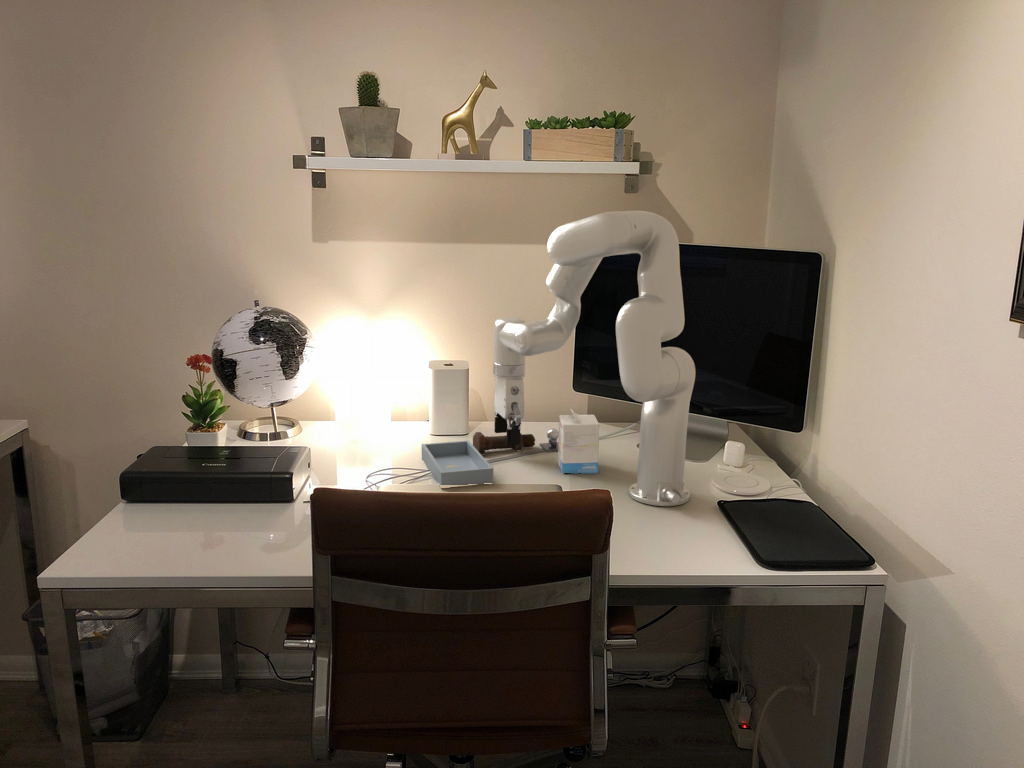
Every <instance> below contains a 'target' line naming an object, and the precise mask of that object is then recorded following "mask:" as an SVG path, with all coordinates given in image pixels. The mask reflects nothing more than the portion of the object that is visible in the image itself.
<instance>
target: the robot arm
mask: <svg viewBox="0 0 1024 768" xmlns="http://www.w3.org/2000/svg"><path fill="white" fill-rule="evenodd" d="M546 252H547V254H548V257H549V259H550V261H552V263H554V264H553V265H552V267H551V269H550V271H549V273H548V275H547V276H546V278H545V285H546V288H547V289H548V291H549V292H550V293H551V294H552V295H553V296H555V297H556V301H555V304H554V306H553V307H552V310H551V311H550V313H549V315H548V316H547V317H546V318H545V319H540V320H534V321H530V322H526V320H525V319H523V318H520V317H515V316H502V317H499V318H497V319H495V322H494V327H493V363H492V365H493V366H492V376H493V377H494V378H495V383H494V397H493V399H494V401H493V405H494V410H495V412H494V433H495V434H505V433H506V435H507V436H506V435H505V436H506V444H507V445H508V446H511V445H519V444H520V433H521V429H522V428H521V427H522V426H521V424H522V420H523V419H524V418H525V388H524V387H525V386H524V384H525V383H524V378H525V376H526V375H525V374H526V373H525V372H526V357H532V356H536V355H541V354H546V353H549V352H554V351H557V350H559V349H560V348H562V347H563V346H564V345H565V344H566V343H567V342H568V340H569V339H570V337H571V335H572V334H573V332H574V331H575V329H576V327H577V324H578V323H579V320H580V316H581V308H582V303H581V297H582V294H583V293H584V291H585V290H586V288H587V286H588V285H589V282H590V280H591V279H592V277H593V275H594V273H595V272H596V270H597V268H598V266H599V265H600V264H601V262H602V260H603V258H605V257H610V256H618V255H619V256H620V255H631V254H638V255H640V261H639V264H638V266H637V267H638V269H637V285H638V297H636V298H635V297H634V298H632V299H629V300H628V301H627V302H625V303H624V305H622V306H621V308H620V309H619V311H618V314H617V316H616V320H615V337H616V338H615V339H616V349H617V350H616V351H617V359H618V369H619V370H618V371H619V376H620V377H619V378H620V382H621V385H622V388H623V390H624V392H625V393H626V395H627V396H628V397H629V398H630V399H632V400H634V401H635V402H639V403H642V406H641V411H640V412H641V413H640V414H641V415H640V423H639V424H640V427H639V428H640V429H639V440H638V441H639V443H638V460H637V461H638V462H637V478H636V480H637V481H636V482H634V483H633V484H631V485H630V486H629V488H628V490H629V491H628V494H629V496H630V497H631V498H632V499H633V500H635V501H637V502H639V503H642V504H646V505H650V506H654V507H655V506H656V507H674V506H680V505H684V504H686V503H687V502H688V501H690V499H691V492H690V490H689V489H688V488H687V487H685V486H684V485H685V482H684V480H685V479H684V478H685V477H684V475H685V461H686V450H687V448H686V447H687V438H688V437H687V436H688V435H687V433H688V423H689V413H690V402H691V398H692V394H693V390H694V385H695V382H696V381H695V380H696V365H695V362H694V360H693V358H692V356H691V355H690V354H689V353H688V352H687V351H686V350H685V349H682V348H680V347H678V346H677V347H676V346H666V347H664V346H663V347H662V343H663V342H667V341H670V340H672V339H674V338H677V337H678V336H679V335H680V334H681V333H682V332H683V330H684V327H685V319H686V318H685V307H684V296H683V295H684V294H683V285H682V276H681V266H680V265H681V263H680V261H681V260H680V245H679V238H678V234H677V232H676V230H675V228H674V226H673V225H672V224H671V222H670V221H669V220H668V219H666V218H665V217H664V216H662V215H659V214H658V213H655V212H651V211H646V210H623V211H622V210H619V211H605V212H600V213H598V214H594V215H590V216H588V217H585V218H582V219H578V220H575V221H571V222H567V223H564V224H562V225H559V226H558V227H556V228H555V229H554V230H553V231H552V232H551V233H550V235H549V237H548V239H547V244H546Z"/></svg>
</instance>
